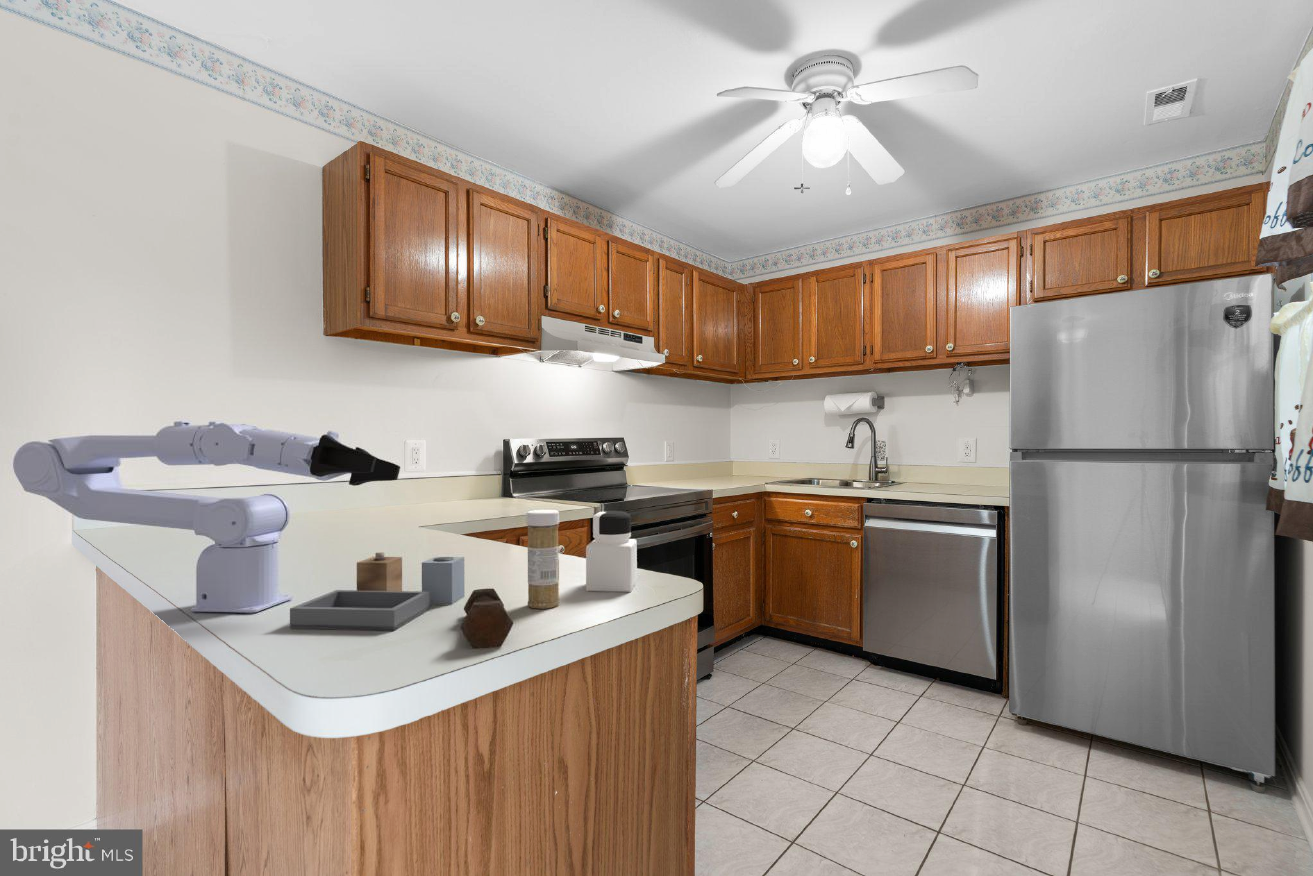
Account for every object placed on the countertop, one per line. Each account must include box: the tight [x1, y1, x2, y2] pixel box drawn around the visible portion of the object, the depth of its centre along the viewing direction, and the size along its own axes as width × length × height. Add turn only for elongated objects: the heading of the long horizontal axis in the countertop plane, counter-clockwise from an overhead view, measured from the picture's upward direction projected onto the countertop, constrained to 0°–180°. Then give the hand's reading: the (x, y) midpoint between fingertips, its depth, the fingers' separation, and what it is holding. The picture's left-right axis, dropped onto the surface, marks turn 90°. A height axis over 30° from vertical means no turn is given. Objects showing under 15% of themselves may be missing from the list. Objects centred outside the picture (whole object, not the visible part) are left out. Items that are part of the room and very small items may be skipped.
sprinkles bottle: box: [526, 509, 560, 610], centre depth 87 cm, size 5×5×14 cm
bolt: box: [459, 588, 514, 650], centre depth 76 cm, size 6×5×15 cm
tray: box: [289, 589, 431, 632], centre depth 81 cm, size 14×10×2 cm
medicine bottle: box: [585, 510, 638, 593], centre depth 98 cm, size 7×7×12 cm
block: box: [356, 551, 403, 591], centre depth 91 cm, size 4×4×7 cm
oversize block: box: [421, 556, 465, 606], centre depth 90 cm, size 4×4×6 cm
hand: (386, 468), depth 87 cm, fingers open, 7 cm apart
